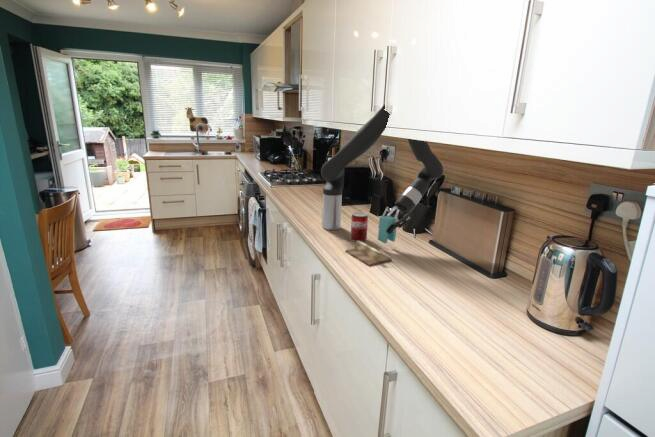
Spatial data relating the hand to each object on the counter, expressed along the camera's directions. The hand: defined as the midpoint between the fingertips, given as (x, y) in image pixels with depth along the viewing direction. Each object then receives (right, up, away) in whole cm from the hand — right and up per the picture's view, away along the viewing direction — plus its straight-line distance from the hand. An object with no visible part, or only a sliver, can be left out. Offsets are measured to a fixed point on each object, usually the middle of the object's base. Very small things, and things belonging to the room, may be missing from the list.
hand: (383, 230), depth 144 cm
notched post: (+1, -4, +2) cm, 5 cm away
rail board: (-7, -10, -5) cm, 14 cm away
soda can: (-9, -5, +14) cm, 17 cm away
